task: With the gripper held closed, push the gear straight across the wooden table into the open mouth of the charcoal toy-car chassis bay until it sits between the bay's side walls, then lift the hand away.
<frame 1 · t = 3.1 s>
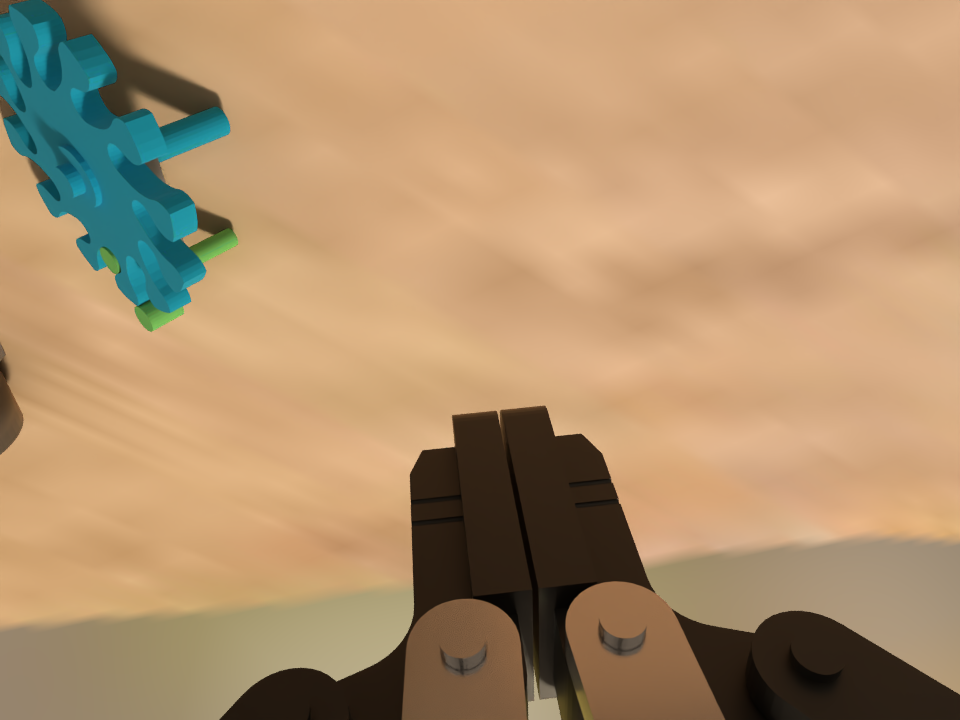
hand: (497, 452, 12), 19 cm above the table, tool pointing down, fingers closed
gear: (136, 148, 27), on the table
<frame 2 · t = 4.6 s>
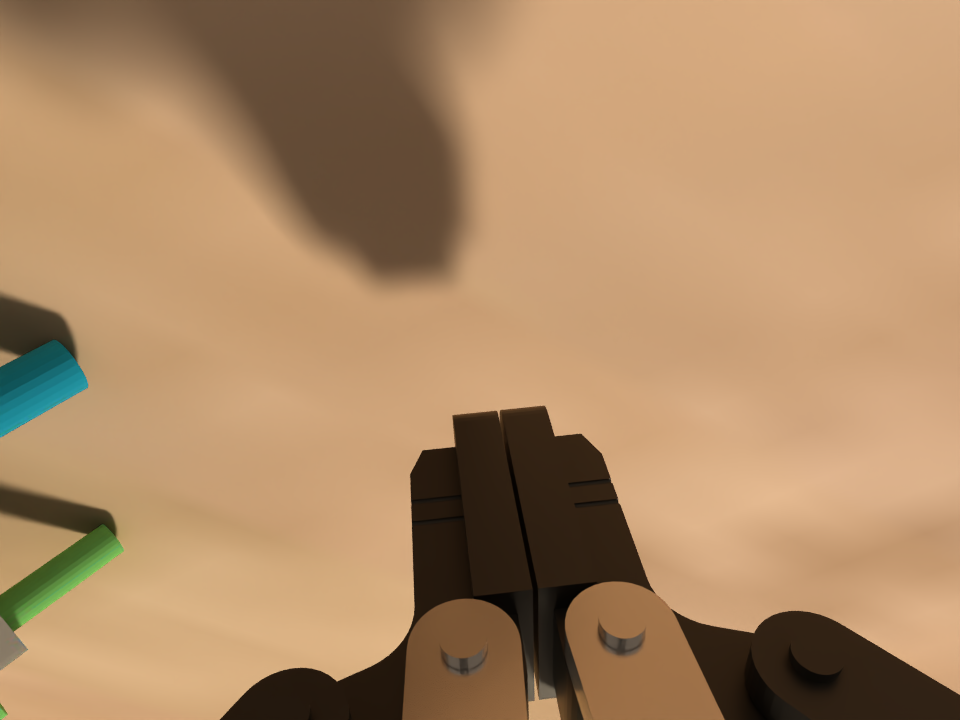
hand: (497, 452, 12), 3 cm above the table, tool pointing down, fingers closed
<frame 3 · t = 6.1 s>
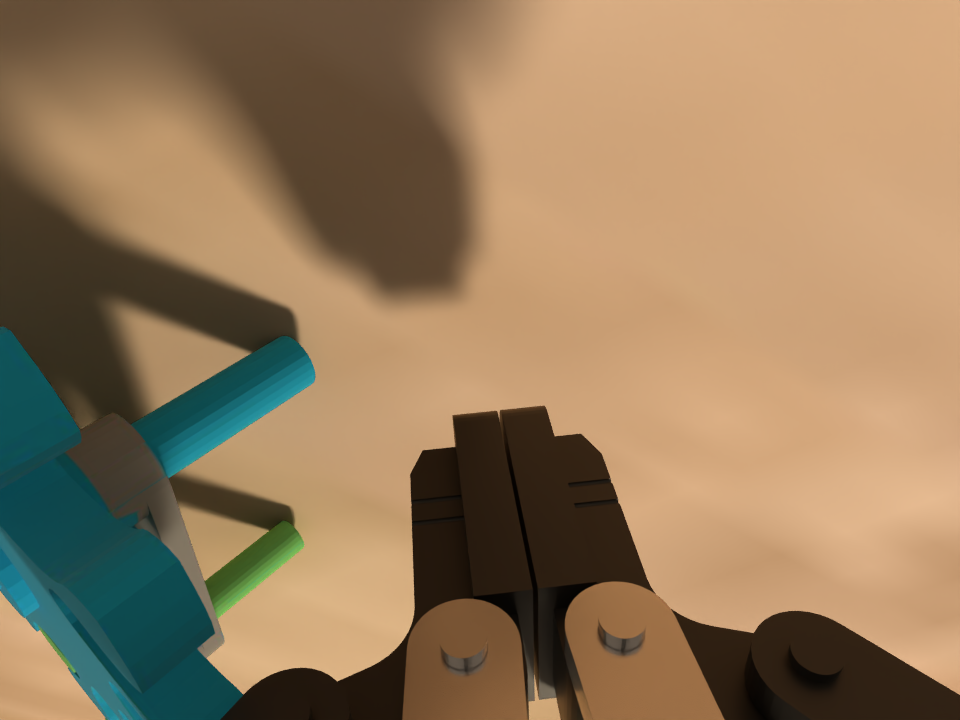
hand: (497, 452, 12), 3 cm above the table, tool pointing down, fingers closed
gear: (124, 392, 14), on the table, touching gripper, hand
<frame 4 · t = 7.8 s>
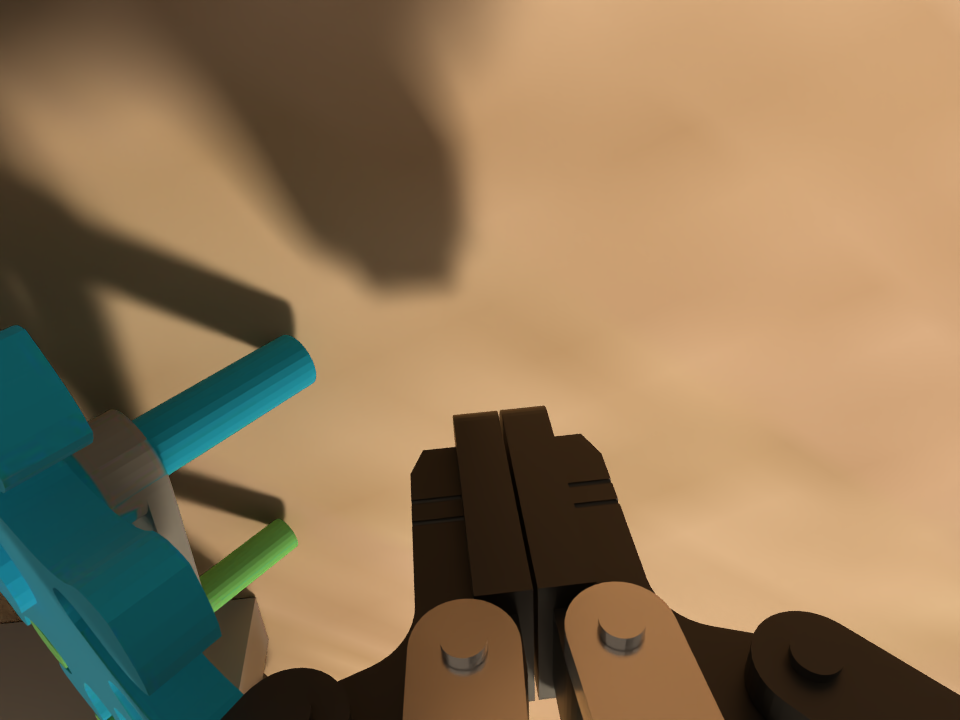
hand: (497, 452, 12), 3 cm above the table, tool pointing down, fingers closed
gear: (121, 387, 14), on the table, touching gripper, hand
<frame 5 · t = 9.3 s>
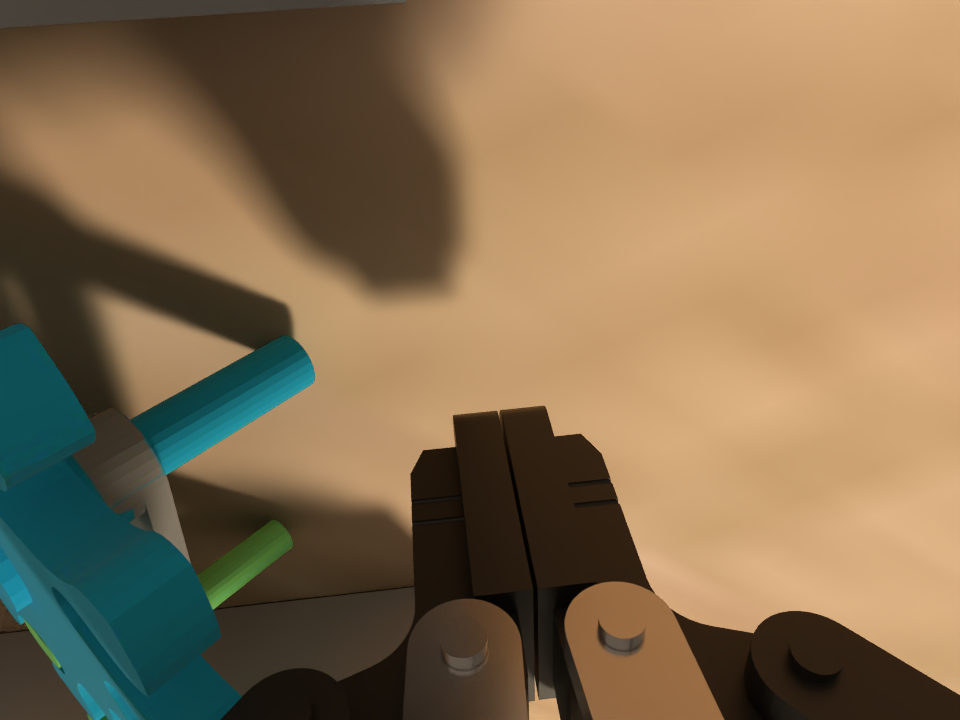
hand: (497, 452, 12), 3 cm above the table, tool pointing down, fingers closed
gear: (118, 386, 14), on the table, touching gripper, hand
chassis bay: (77, 388, 14), on the table
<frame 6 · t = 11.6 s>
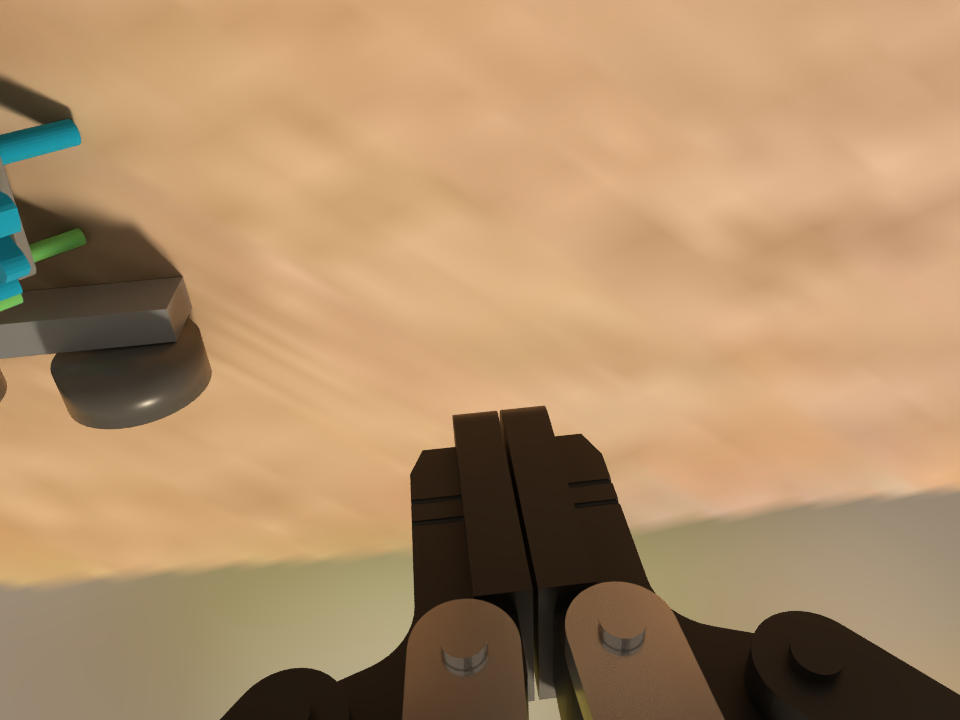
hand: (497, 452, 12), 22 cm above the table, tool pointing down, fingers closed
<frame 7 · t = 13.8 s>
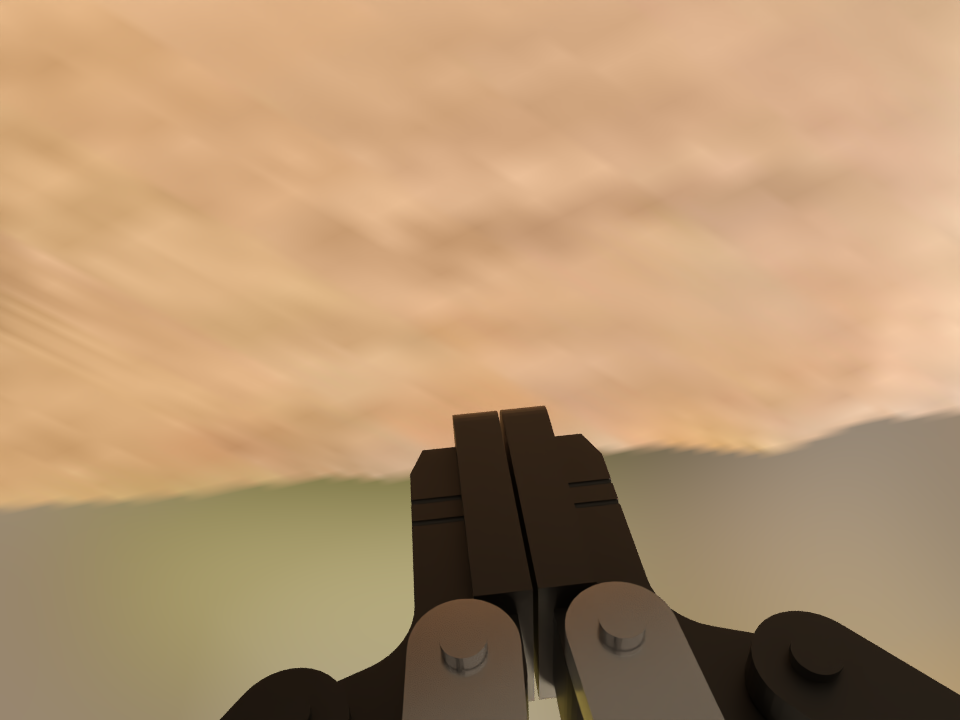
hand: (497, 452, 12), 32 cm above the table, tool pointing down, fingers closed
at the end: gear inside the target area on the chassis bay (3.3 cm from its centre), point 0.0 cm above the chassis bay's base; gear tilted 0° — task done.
